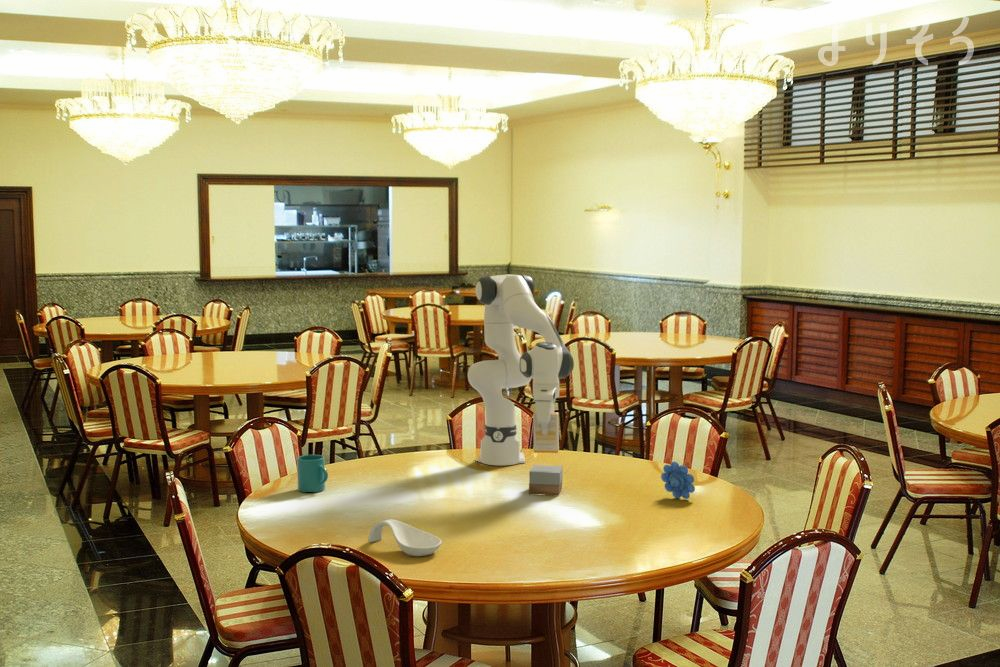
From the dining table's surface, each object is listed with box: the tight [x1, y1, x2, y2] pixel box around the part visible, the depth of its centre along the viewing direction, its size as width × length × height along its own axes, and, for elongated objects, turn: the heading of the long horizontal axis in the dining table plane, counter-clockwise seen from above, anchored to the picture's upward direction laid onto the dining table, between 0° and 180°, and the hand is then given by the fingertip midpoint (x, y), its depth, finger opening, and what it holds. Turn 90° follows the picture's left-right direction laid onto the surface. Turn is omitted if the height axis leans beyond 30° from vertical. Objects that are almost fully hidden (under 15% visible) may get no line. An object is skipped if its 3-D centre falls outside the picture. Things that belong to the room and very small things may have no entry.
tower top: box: [528, 464, 563, 485], centre depth 335 cm, size 10×10×4 cm
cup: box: [296, 454, 329, 493], centre depth 336 cm, size 9×12×11 cm
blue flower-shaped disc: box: [660, 461, 696, 499], centre depth 324 cm, size 12×7×12 cm, turn 58°
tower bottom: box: [528, 479, 563, 496], centre depth 335 cm, size 10×10×4 cm
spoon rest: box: [367, 518, 443, 557], centre depth 273 cm, size 24×12×7 cm, turn 51°
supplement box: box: [532, 411, 560, 454], centre depth 334 cm, size 8×5×13 cm, turn 82°
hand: (546, 432), depth 334 cm, fingers closed on supplement box, 5 cm apart
